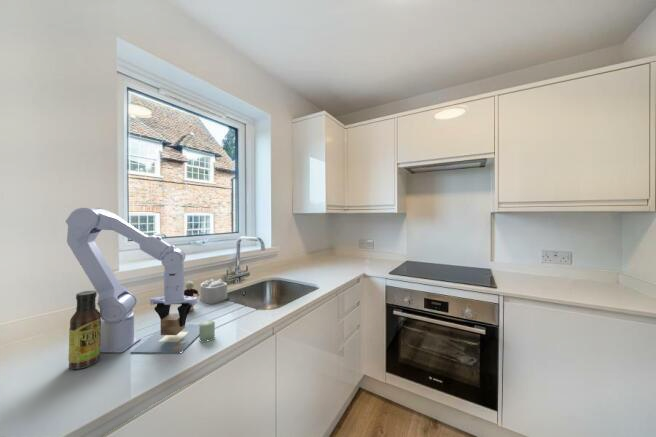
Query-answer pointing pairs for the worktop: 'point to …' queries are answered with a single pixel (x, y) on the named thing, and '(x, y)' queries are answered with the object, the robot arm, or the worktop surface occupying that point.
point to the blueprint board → (169, 341)
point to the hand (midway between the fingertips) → (174, 325)
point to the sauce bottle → (84, 332)
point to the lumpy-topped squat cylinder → (213, 291)
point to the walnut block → (171, 324)
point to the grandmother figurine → (190, 292)
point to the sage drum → (207, 330)
